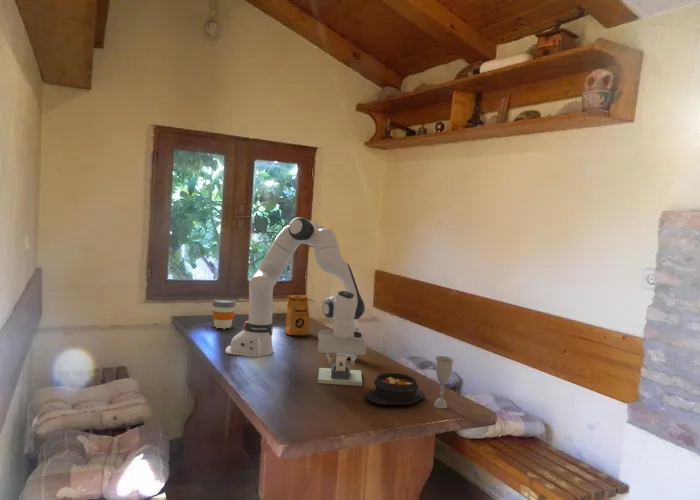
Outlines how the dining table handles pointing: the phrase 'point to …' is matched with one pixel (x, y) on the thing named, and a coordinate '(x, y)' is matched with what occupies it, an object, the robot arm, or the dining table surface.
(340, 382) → the socket board
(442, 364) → the chalice
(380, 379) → the casserole
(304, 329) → the coffee package
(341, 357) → the keyed plug
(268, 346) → the robot arm
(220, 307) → the reusable coffee cup
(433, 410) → the dining table surface
